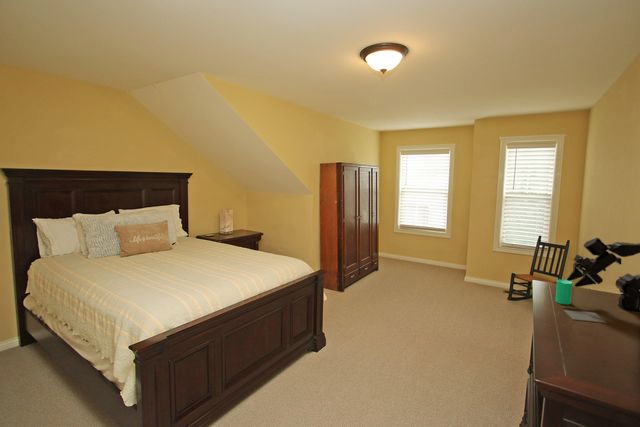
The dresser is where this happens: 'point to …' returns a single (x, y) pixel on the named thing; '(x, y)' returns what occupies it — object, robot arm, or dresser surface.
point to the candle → (563, 291)
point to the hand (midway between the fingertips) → (571, 283)
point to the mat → (584, 316)
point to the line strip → (579, 308)
